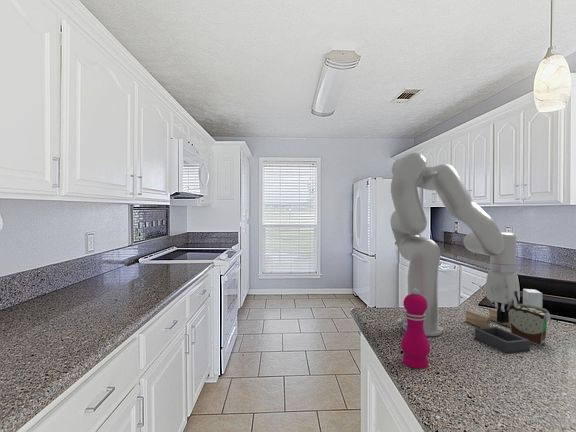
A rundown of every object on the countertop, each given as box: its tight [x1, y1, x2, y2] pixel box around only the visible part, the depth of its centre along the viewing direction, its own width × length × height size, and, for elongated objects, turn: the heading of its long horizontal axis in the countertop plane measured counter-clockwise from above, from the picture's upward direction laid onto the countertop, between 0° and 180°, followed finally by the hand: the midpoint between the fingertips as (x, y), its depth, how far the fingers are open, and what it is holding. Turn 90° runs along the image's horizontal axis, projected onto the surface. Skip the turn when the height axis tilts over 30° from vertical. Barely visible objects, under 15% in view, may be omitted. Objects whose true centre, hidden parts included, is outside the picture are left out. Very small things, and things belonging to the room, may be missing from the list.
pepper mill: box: [400, 288, 431, 370], centre depth 89 cm, size 7×7×20 cm
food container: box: [507, 303, 552, 347], centre depth 106 cm, size 12×6×10 cm, turn 20°
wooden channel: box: [465, 307, 510, 328], centre depth 120 cm, size 11×10×4 cm
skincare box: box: [522, 288, 543, 308], centre depth 120 cm, size 6×4×12 cm
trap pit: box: [474, 326, 531, 354], centre depth 102 cm, size 8×12×3 cm, turn 12°
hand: (502, 322), depth 115 cm, fingers closed
